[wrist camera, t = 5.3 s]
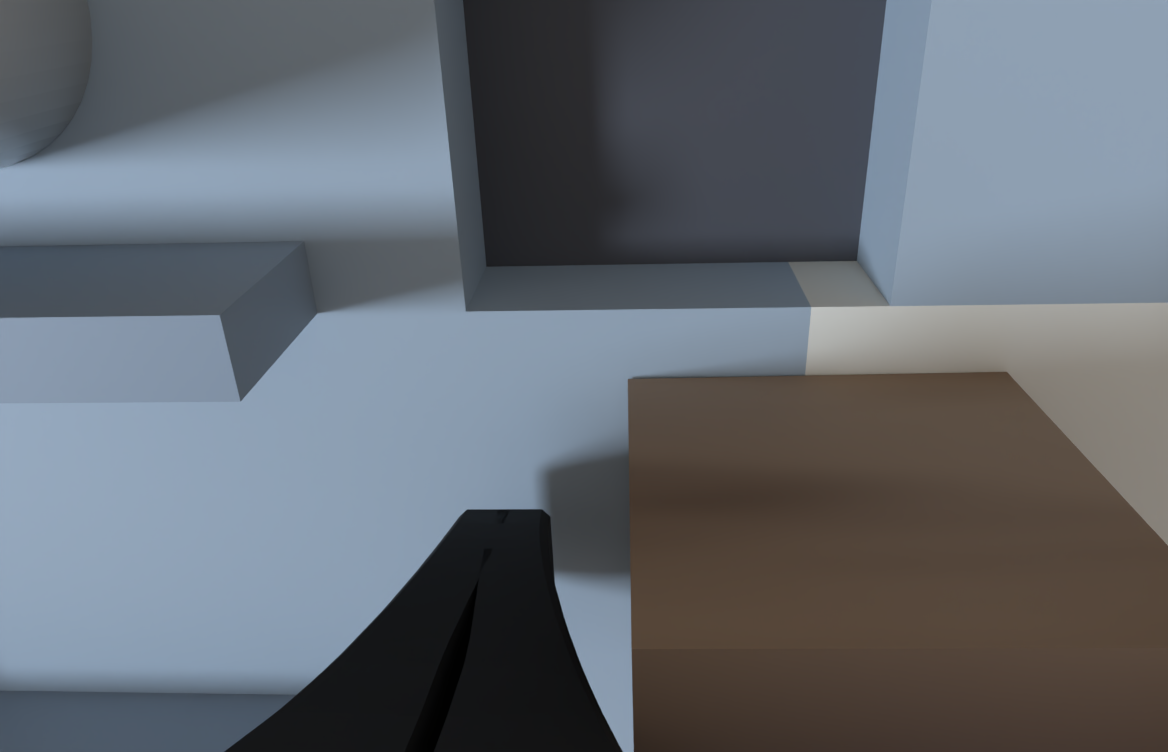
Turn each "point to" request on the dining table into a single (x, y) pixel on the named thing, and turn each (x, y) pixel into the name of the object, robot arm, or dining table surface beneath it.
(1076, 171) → the deck
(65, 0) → the white egg
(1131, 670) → the walnut block
